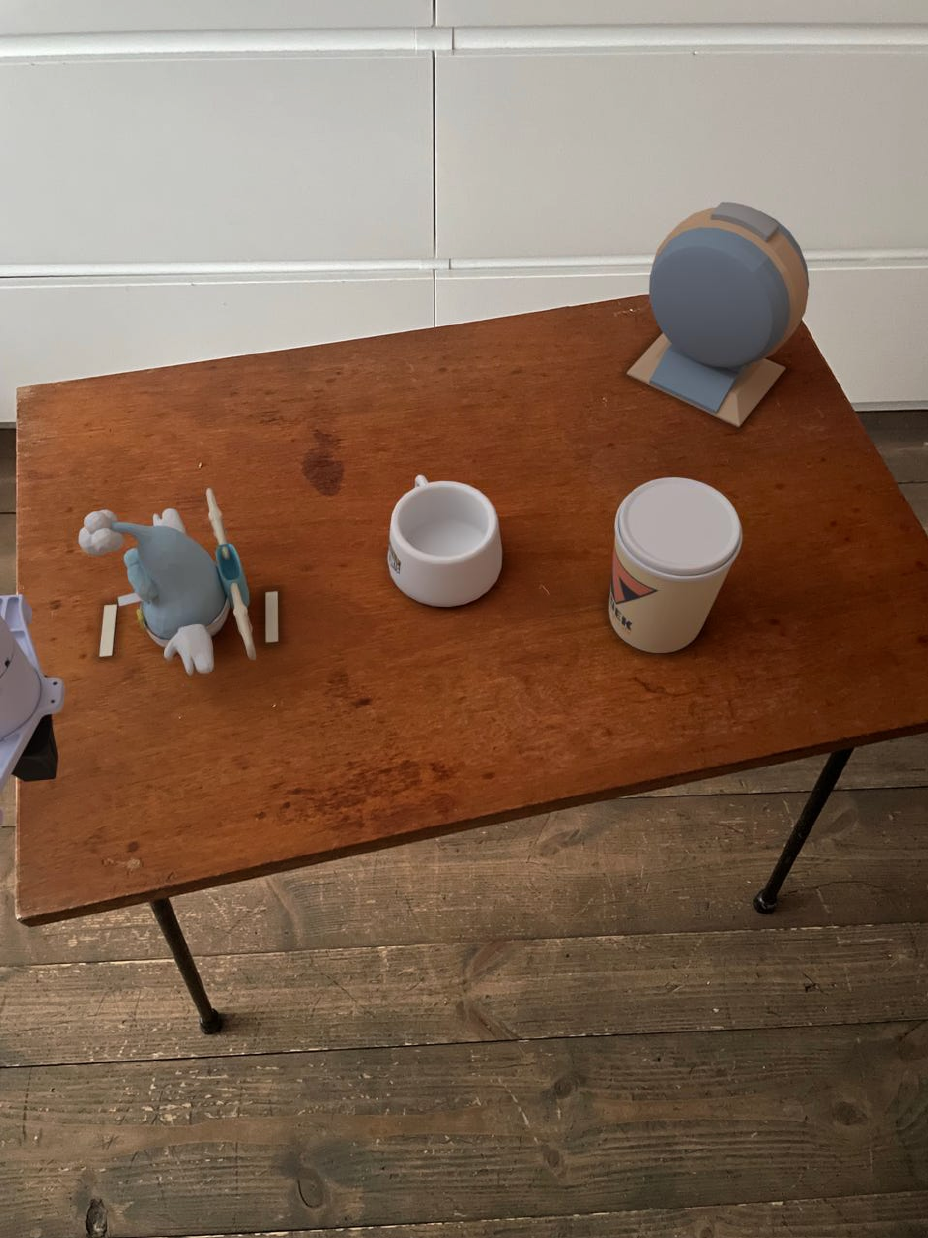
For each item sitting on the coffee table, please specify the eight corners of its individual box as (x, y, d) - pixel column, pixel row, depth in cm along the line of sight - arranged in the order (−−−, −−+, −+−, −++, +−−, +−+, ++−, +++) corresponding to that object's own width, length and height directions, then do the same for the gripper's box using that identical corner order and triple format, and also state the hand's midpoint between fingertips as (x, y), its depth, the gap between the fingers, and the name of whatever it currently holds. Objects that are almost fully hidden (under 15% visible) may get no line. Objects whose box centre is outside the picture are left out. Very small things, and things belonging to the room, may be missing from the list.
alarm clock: (794, 373, 104) (849, 214, 89) (748, 431, 99) (798, 274, 85) (666, 316, 108) (699, 156, 94) (617, 369, 104) (643, 210, 89)
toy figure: (111, 563, 90) (56, 438, 78) (233, 533, 92) (199, 407, 80) (141, 728, 81) (84, 616, 69) (275, 691, 83) (244, 576, 71)
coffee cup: (588, 575, 90) (604, 479, 80) (696, 564, 90) (726, 468, 80) (610, 668, 84) (631, 578, 74) (725, 656, 85) (760, 565, 75)
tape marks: (99, 657, 85) (99, 656, 85) (104, 606, 88) (104, 605, 87) (278, 641, 86) (278, 641, 86) (277, 592, 88) (277, 591, 88)
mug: (518, 593, 88) (522, 548, 84) (408, 625, 87) (405, 581, 82) (470, 490, 95) (471, 443, 90) (366, 518, 93) (361, 471, 88)
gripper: (18, 772, 53) (95, 873, 64) (50, 544, 61) (113, 668, 72) (-128, 785, 52) (-26, 885, 63) (-76, 554, 60) (7, 678, 71)
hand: (41, 770), depth 68 cm, fingers closed
